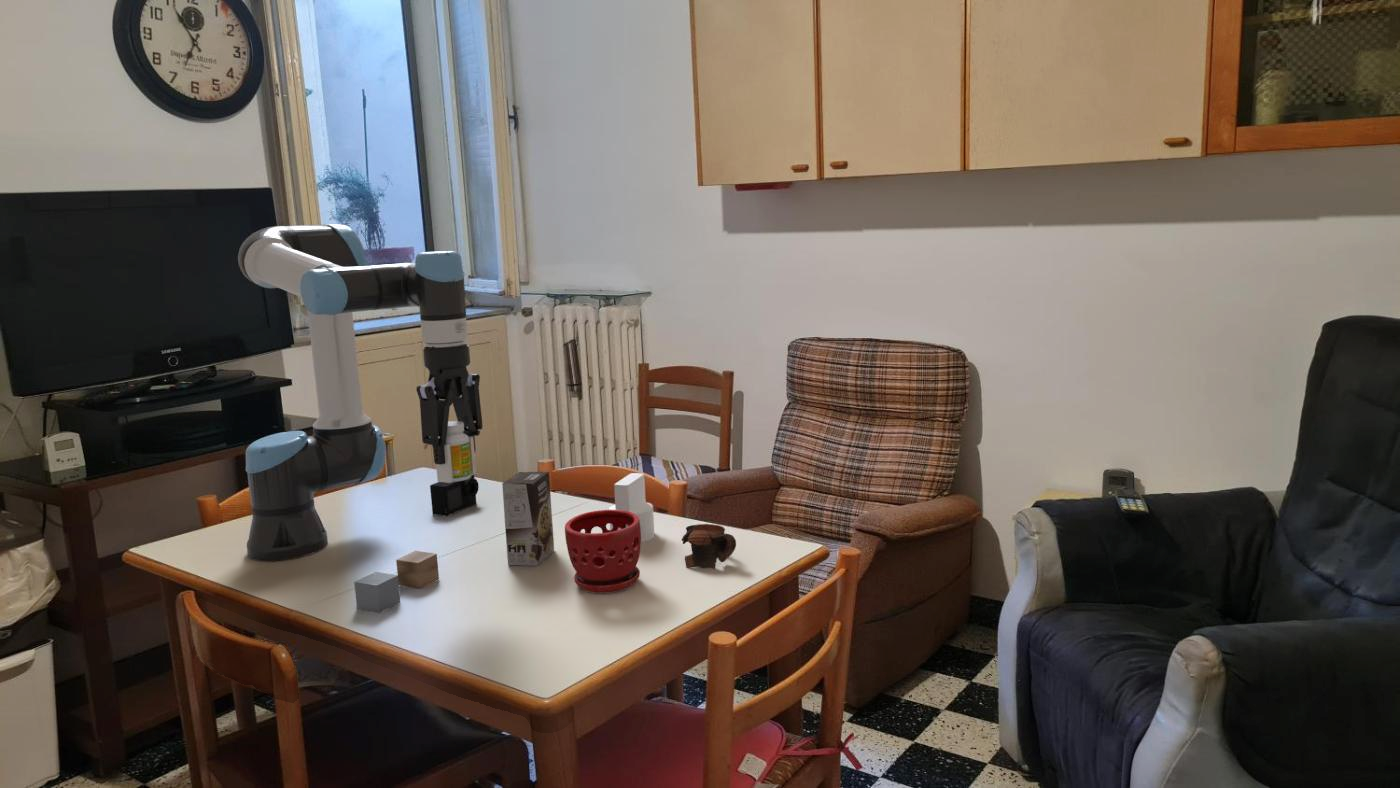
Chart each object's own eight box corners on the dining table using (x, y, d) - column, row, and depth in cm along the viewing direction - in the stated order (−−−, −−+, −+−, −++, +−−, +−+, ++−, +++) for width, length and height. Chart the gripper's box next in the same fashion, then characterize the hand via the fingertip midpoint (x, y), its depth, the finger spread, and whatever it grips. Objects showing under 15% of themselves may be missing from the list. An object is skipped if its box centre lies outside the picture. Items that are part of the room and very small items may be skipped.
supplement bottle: (467, 482, 164) (463, 426, 162) (436, 482, 164) (431, 427, 162) (475, 473, 169) (471, 419, 167) (444, 474, 169) (440, 420, 167)
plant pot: (575, 572, 176) (571, 509, 174) (646, 570, 176) (643, 507, 174) (562, 600, 164) (558, 533, 162) (639, 598, 163) (636, 530, 161)
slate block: (357, 609, 163) (354, 581, 162) (378, 598, 168) (375, 571, 167) (379, 613, 161) (376, 585, 160) (400, 602, 166) (397, 575, 165)
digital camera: (451, 517, 214) (448, 486, 212) (432, 514, 216) (429, 484, 215) (481, 504, 223) (478, 474, 221) (462, 501, 225) (459, 473, 224)
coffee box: (539, 566, 180) (533, 483, 177) (506, 565, 181) (500, 483, 179) (555, 550, 189) (550, 470, 186) (525, 549, 190) (519, 470, 187)
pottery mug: (670, 569, 178) (671, 525, 181) (700, 576, 185) (701, 534, 188) (723, 563, 171) (723, 518, 174) (752, 571, 178) (752, 527, 181)
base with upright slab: (644, 544, 190) (641, 486, 188) (603, 541, 193) (599, 483, 191) (660, 530, 199) (658, 474, 196) (620, 527, 201) (617, 472, 199)
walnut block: (398, 586, 173) (396, 559, 172) (417, 576, 178) (415, 550, 177) (420, 589, 171) (417, 563, 170) (439, 579, 176) (436, 553, 175)
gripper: (425, 352, 152) (438, 493, 156) (497, 337, 168) (507, 465, 173) (389, 350, 155) (402, 489, 160) (463, 336, 172) (474, 462, 176)
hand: (457, 476), depth 166 cm, fingers closed on supplement bottle, 5 cm apart
